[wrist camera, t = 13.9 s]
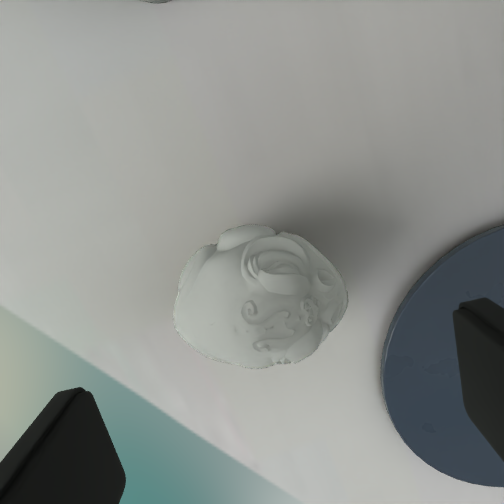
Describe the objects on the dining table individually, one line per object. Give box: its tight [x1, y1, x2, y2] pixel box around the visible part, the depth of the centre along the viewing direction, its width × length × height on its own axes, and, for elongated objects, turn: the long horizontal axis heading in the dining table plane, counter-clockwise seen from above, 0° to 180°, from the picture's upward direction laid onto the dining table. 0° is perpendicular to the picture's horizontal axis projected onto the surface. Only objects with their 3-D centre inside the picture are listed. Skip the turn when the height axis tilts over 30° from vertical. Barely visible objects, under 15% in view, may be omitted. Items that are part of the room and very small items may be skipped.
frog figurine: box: [173, 225, 348, 369], centre depth 16 cm, size 6×7×7 cm
